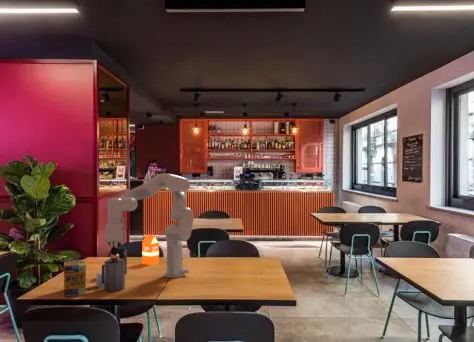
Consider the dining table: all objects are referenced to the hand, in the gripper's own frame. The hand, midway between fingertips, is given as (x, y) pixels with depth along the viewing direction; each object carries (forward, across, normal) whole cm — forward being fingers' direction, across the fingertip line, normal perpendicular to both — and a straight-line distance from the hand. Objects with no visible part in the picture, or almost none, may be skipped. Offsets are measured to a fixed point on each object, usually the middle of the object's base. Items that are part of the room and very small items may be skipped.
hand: (114, 254), depth 215 cm
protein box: (+19, +19, +7) cm, 28 cm away
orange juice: (+19, -2, -63) cm, 66 cm away
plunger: (+13, 0, 0) cm, 13 cm away
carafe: (+19, 0, 0) cm, 19 cm away
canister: (+19, +9, -31) cm, 37 cm away
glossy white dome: (+19, +9, -6) cm, 22 cm away
